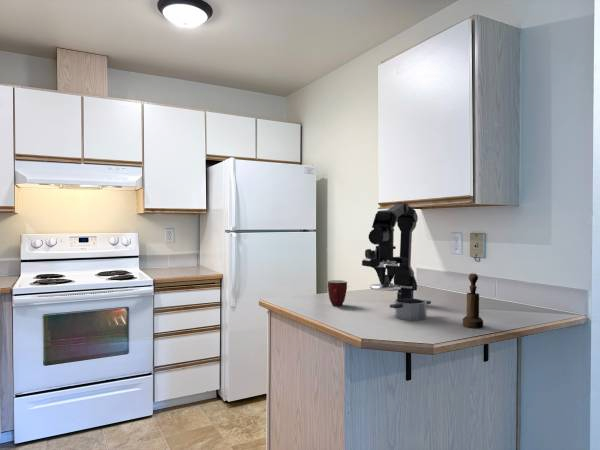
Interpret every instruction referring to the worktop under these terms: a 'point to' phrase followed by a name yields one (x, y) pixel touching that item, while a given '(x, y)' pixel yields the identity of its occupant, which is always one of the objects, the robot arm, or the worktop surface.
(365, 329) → the worktop surface
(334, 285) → the mug
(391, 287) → the lid
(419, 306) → the pot
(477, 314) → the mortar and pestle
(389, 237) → the robot arm
